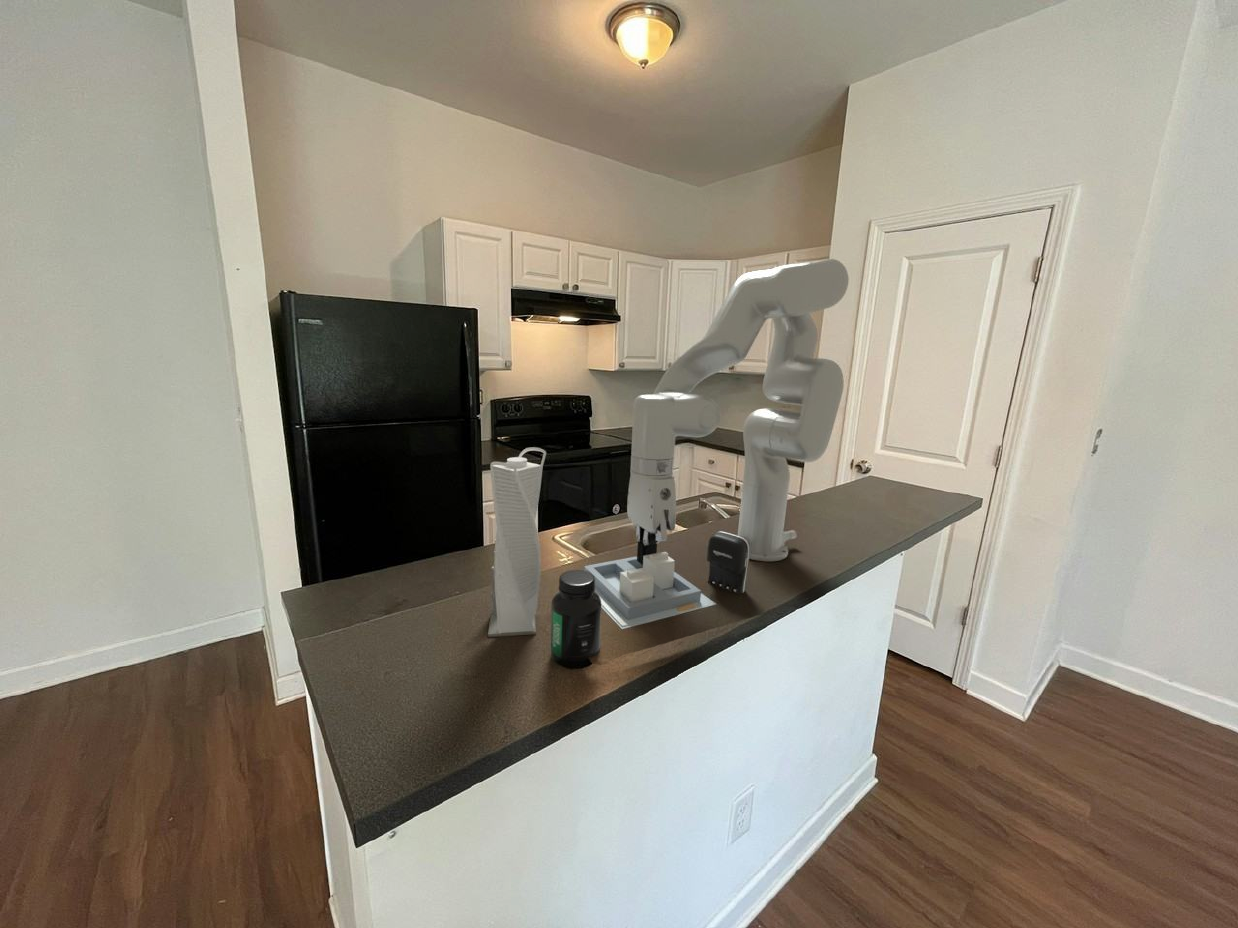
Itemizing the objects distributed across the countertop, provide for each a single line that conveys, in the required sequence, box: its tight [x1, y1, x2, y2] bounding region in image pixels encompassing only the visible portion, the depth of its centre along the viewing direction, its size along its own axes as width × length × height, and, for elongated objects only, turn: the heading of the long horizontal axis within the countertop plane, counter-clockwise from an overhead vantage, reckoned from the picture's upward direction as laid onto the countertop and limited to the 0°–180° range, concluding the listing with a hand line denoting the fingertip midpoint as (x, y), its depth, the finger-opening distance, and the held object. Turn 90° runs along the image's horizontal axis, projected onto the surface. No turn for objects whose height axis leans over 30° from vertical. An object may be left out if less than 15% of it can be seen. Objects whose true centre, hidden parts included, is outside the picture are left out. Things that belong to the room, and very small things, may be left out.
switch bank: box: [583, 556, 717, 630], centre depth 85 cm, size 18×20×4 cm
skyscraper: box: [487, 446, 547, 638], centre depth 72 cm, size 8×8×28 cm
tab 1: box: [619, 568, 654, 603], centre depth 79 cm, size 4×4×6 cm
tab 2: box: [643, 551, 676, 589], centre depth 86 cm, size 4×4×6 cm
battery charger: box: [706, 531, 750, 595], centre depth 86 cm, size 7×4×11 cm, turn 50°
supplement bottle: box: [550, 569, 602, 670], centre depth 67 cm, size 7×7×12 cm
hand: (646, 561), depth 90 cm, fingers closed
